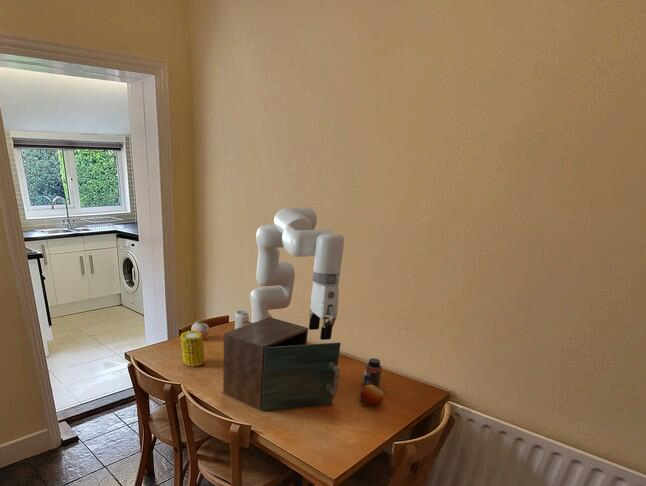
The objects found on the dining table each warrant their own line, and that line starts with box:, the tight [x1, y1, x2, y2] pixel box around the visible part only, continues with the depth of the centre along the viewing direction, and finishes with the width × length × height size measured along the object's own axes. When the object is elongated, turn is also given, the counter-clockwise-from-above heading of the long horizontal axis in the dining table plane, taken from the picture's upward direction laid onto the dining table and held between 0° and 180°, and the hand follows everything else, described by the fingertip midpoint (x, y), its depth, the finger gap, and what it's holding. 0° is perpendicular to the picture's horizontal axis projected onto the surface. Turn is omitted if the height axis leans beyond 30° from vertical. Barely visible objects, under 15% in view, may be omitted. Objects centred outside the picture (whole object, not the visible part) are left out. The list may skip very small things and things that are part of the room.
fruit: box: [359, 385, 385, 407], centre depth 147 cm, size 8×8×8 cm
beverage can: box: [234, 310, 250, 330], centre depth 210 cm, size 7×7×12 cm
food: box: [180, 329, 206, 367], centre depth 177 cm, size 15×12×10 cm
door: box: [260, 342, 341, 412], centre depth 138 cm, size 6×26×24 cm, turn 99°
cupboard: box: [222, 317, 309, 411], centre depth 153 cm, size 18×26×24 cm
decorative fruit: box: [190, 319, 211, 339], centre depth 204 cm, size 9×8×10 cm
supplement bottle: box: [362, 357, 383, 388], centre depth 157 cm, size 6×6×11 cm
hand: (319, 333), depth 127 cm, fingers open, 8 cm apart
